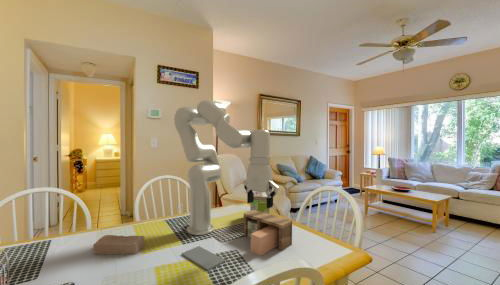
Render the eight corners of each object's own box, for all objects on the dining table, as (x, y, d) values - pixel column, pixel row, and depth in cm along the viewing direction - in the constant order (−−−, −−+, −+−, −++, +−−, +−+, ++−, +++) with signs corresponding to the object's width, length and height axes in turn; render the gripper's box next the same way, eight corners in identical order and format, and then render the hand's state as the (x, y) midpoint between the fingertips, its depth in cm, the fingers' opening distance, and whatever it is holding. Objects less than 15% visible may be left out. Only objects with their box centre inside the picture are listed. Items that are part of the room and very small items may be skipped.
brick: (145, 244, 99) (145, 233, 99) (136, 255, 91) (136, 242, 91) (104, 245, 99) (104, 234, 98) (92, 255, 90) (92, 243, 90)
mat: (181, 254, 91) (181, 253, 91) (198, 247, 96) (198, 246, 96) (207, 271, 80) (207, 269, 80) (225, 261, 86) (225, 260, 86)
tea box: (269, 225, 121) (270, 196, 120) (250, 225, 121) (250, 196, 120) (268, 215, 136) (268, 189, 135) (250, 215, 136) (250, 189, 135)
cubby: (243, 235, 108) (243, 213, 108) (254, 230, 113) (254, 209, 113) (282, 250, 94) (282, 225, 94) (291, 244, 99) (292, 220, 99)
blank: (250, 251, 94) (250, 234, 94) (269, 241, 103) (269, 225, 102) (260, 255, 90) (260, 237, 90) (278, 245, 99) (279, 228, 99)
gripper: (237, 160, 95) (237, 202, 96) (272, 164, 84) (271, 212, 85) (249, 159, 101) (249, 199, 102) (284, 162, 90) (283, 207, 90)
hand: (259, 204), depth 93 cm, fingers open, 9 cm apart
